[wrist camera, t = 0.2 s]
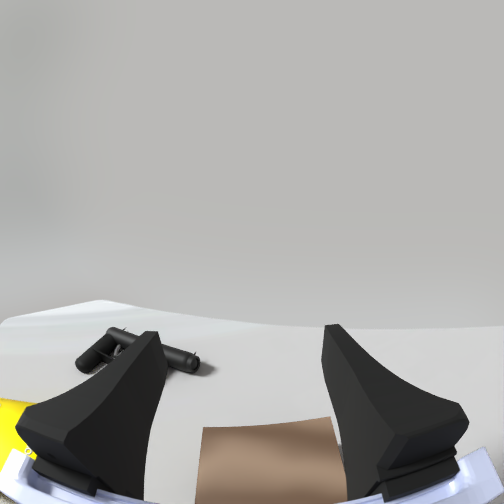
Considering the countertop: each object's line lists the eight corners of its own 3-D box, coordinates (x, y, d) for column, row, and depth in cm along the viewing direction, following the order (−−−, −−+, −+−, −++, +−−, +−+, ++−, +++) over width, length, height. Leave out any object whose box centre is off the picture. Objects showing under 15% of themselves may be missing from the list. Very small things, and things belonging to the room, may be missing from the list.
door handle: (135, 426, 27) (202, 346, 41) (54, 370, 36) (115, 319, 49) (145, 439, 29) (207, 361, 42) (64, 384, 37) (121, 333, 50)
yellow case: (50, 511, 15) (25, 493, 13) (-23, 481, 13) (-45, 460, 11) (73, 424, 29) (56, 401, 27) (5, 413, 27) (-11, 392, 25)
